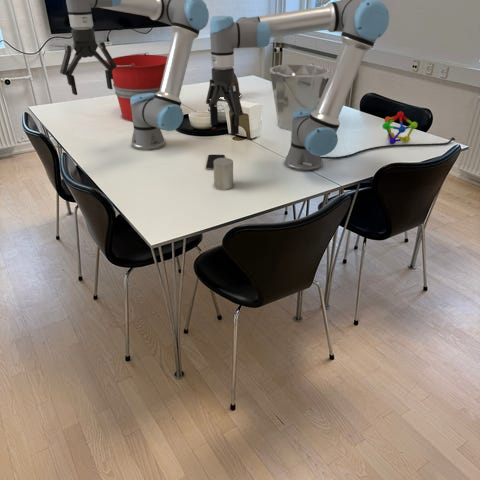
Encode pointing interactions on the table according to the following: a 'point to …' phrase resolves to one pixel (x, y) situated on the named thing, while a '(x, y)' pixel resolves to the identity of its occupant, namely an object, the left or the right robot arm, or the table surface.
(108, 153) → the table surface
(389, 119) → the educational toy
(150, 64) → the bucket
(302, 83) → the bucket
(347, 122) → the table surface
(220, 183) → the can
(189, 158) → the table surface
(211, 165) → the smartphone
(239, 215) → the table surface
